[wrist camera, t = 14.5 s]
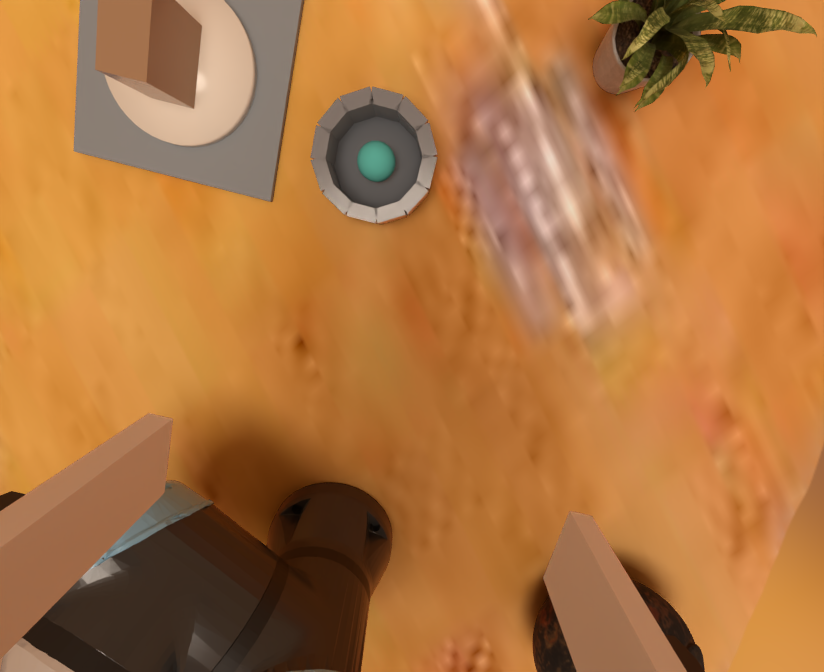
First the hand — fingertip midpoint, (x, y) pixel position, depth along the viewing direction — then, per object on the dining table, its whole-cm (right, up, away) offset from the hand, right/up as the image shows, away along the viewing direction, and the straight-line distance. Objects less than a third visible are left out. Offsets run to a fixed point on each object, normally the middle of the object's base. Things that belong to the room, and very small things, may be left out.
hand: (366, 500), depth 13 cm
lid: (-20, +31, +26) cm, 45 cm away
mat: (-20, +31, +26) cm, 45 cm away
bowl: (-2, +23, +28) cm, 36 cm away
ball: (-2, +22, +27) cm, 35 cm away
